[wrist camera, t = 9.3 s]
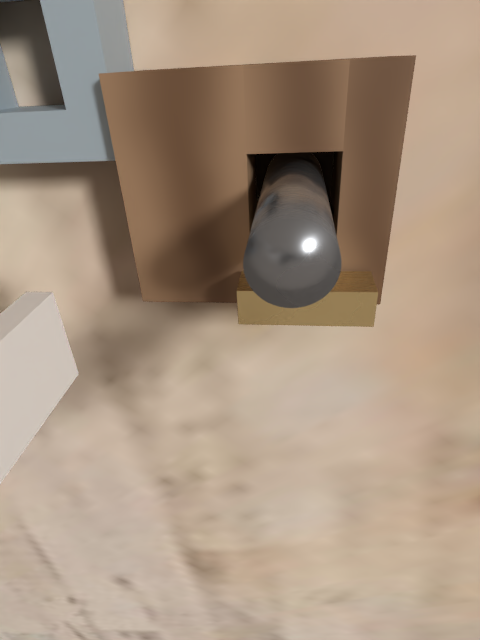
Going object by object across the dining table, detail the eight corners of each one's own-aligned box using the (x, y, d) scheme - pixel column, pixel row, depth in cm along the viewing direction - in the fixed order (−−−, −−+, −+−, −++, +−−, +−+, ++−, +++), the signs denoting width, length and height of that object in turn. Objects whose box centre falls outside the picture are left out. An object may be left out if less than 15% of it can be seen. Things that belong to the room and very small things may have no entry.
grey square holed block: (-5, 152, 27) (-49, 165, 23) (-74, -54, 22) (-143, -75, 18) (145, 147, 26) (122, 160, 22) (111, -73, 20) (74, -99, 17)
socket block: (164, 267, 30) (142, 301, 26) (133, 70, 24) (98, 73, 19) (367, 267, 28) (379, 304, 24) (392, 56, 22) (415, 55, 18)
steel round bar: (266, 205, 27) (245, 307, 16) (265, 148, 25) (240, 218, 14) (320, 204, 26) (337, 308, 15) (323, 146, 24) (345, 217, 14)
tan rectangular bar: (243, 302, 24) (238, 324, 22) (241, 270, 23) (236, 290, 21) (366, 303, 24) (373, 326, 22) (370, 271, 23) (378, 292, 21)
